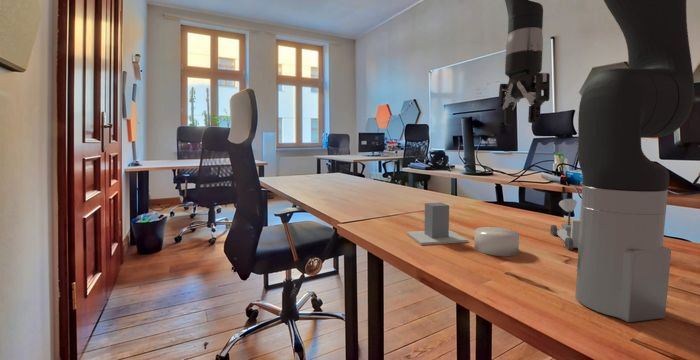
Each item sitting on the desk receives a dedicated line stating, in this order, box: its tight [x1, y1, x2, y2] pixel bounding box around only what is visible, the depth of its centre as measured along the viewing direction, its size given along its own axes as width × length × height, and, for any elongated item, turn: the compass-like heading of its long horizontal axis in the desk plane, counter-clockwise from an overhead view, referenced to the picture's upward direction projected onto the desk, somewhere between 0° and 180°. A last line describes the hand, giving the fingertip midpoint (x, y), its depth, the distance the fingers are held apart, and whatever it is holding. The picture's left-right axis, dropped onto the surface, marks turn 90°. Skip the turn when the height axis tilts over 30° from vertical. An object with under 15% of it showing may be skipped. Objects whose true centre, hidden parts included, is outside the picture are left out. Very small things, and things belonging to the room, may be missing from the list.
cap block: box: [423, 202, 450, 238], centre depth 83 cm, size 4×4×8 cm
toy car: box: [550, 198, 580, 251], centre depth 79 cm, size 18×10×12 cm
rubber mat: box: [405, 229, 469, 246], centre depth 83 cm, size 10×12×1 cm
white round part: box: [473, 226, 520, 257], centre depth 74 cm, size 9×9×4 cm
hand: (520, 124), depth 78 cm, fingers open, 8 cm apart
